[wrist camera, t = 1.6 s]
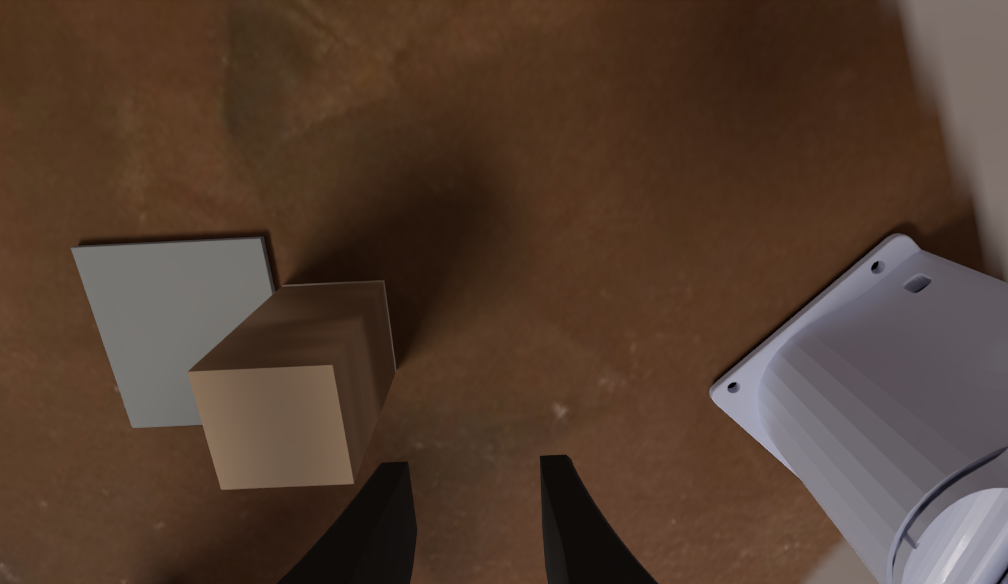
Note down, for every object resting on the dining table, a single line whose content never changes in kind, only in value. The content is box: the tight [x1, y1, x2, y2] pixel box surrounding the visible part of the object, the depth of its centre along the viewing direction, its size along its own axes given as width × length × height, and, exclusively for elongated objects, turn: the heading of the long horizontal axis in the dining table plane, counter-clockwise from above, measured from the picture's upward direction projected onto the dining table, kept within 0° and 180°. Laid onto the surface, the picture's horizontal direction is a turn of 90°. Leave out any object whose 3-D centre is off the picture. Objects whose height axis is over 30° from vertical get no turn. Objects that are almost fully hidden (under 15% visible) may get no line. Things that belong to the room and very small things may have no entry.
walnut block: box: [188, 280, 396, 490], centre depth 19 cm, size 4×4×7 cm
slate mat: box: [71, 237, 275, 428], centre depth 22 cm, size 7×8×1 cm
